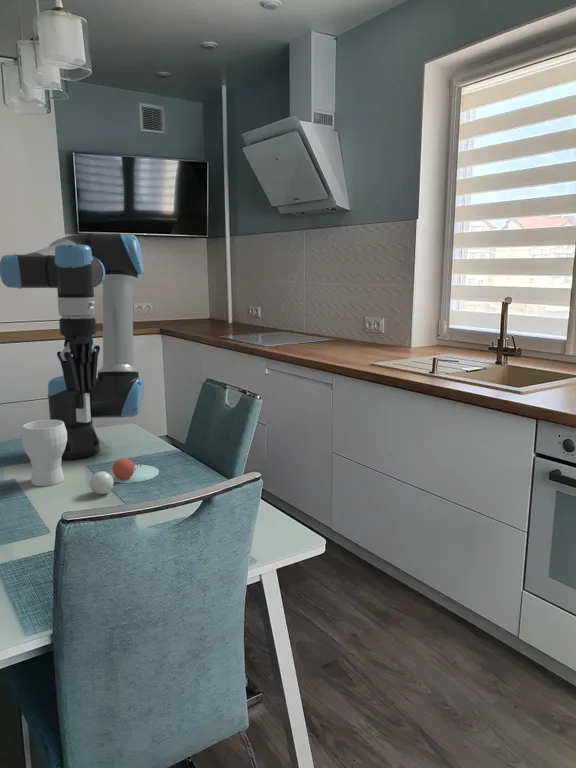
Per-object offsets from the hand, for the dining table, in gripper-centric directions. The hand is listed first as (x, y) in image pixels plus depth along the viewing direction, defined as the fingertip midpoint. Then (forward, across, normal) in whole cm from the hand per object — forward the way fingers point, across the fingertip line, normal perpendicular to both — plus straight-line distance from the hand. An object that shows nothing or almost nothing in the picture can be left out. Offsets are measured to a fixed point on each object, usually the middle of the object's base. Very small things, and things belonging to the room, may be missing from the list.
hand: (83, 421), depth 132 cm
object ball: (+17, +16, 0) cm, 23 cm away
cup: (+20, +10, +18) cm, 28 cm away
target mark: (+19, +20, 0) cm, 28 cm away
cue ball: (+17, +6, 0) cm, 18 cm away
